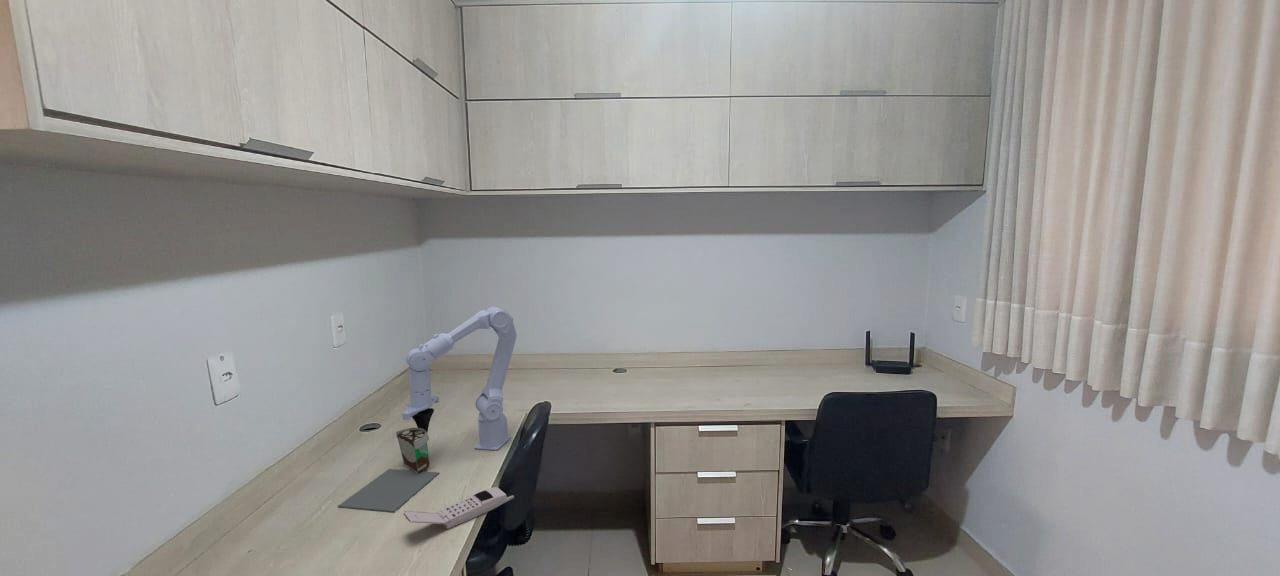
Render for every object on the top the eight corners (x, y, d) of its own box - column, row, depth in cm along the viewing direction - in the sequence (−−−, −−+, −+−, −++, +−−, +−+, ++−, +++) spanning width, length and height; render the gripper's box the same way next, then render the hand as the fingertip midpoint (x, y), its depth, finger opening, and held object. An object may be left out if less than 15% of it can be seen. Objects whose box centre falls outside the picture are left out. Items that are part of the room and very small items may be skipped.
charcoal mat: (389, 470, 144) (389, 468, 144) (439, 473, 141) (439, 472, 141) (338, 507, 125) (337, 505, 125) (394, 512, 122) (394, 511, 122)
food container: (441, 465, 144) (435, 433, 142) (420, 475, 139) (414, 442, 137) (422, 453, 152) (416, 423, 150) (401, 462, 147) (395, 431, 145)
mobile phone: (401, 511, 113) (502, 470, 129) (404, 535, 114) (504, 491, 130) (411, 522, 108) (514, 479, 125) (413, 547, 109) (515, 501, 126)
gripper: (423, 381, 153) (426, 423, 155) (391, 397, 139) (394, 443, 141) (444, 382, 152) (446, 424, 154) (413, 398, 138) (416, 445, 140)
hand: (423, 433), depth 147 cm, fingers closed, pressing on food container
